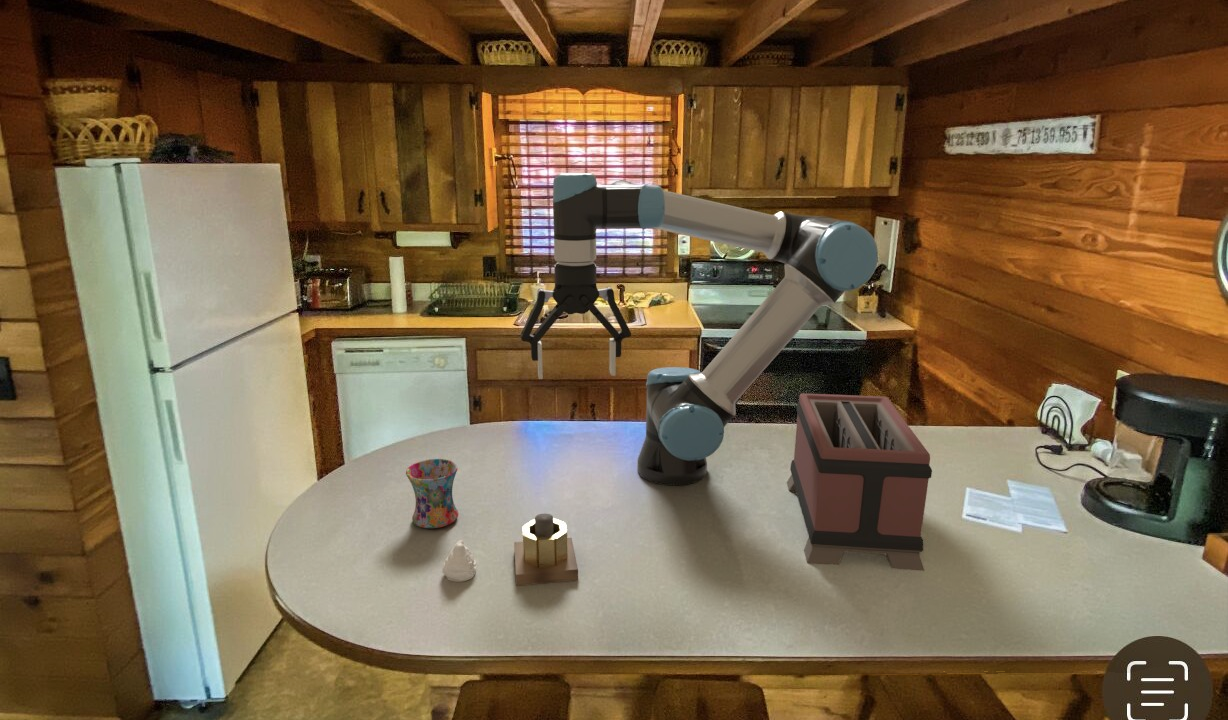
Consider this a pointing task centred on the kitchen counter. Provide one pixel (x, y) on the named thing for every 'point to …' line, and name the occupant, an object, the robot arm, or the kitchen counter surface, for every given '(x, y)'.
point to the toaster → (859, 479)
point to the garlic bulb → (459, 564)
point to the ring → (545, 545)
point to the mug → (433, 492)
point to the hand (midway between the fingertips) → (576, 375)
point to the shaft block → (547, 574)
